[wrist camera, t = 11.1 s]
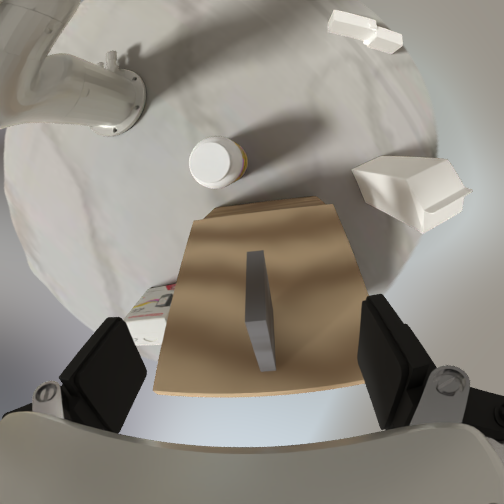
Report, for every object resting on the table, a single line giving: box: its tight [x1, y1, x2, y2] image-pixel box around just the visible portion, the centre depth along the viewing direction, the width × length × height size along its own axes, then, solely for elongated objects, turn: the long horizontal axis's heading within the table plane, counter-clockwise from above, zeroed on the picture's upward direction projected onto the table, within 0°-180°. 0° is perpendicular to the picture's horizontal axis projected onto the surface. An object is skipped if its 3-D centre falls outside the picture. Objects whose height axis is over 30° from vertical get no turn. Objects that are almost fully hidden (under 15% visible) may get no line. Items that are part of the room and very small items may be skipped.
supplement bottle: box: [189, 136, 248, 189], centre depth 35 cm, size 7×7×13 cm
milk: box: [352, 156, 473, 233], centre depth 30 cm, size 6×6×22 cm
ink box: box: [123, 284, 176, 346], centre depth 44 cm, size 9×5×12 cm, turn 103°
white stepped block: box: [328, 10, 403, 54], centre depth 30 cm, size 15×11×6 cm
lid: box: [153, 204, 369, 397], centre depth 21 cm, size 20×16×7 cm
